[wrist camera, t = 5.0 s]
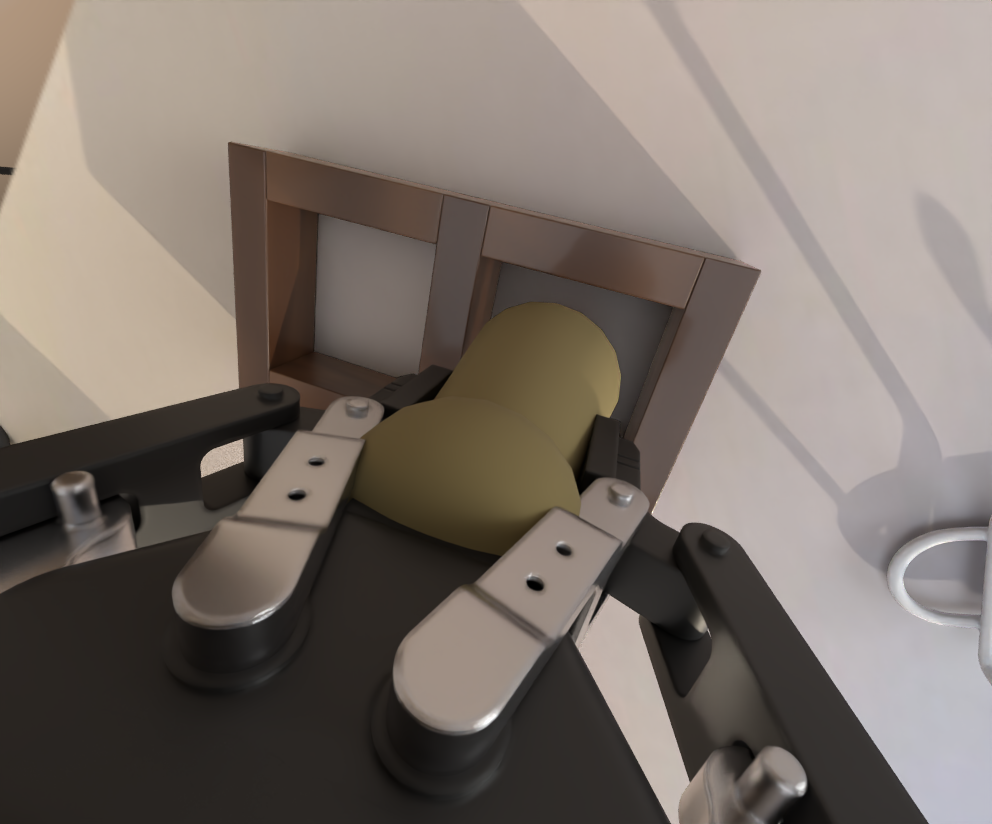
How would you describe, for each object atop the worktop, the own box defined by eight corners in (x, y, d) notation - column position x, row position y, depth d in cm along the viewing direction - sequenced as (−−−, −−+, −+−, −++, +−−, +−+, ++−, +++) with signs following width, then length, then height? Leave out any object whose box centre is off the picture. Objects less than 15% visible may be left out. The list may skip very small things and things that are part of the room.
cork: (476, 286, 17) (261, 378, 7) (641, 321, 16) (650, 487, 6) (457, 429, 20) (279, 640, 10) (598, 468, 18) (555, 749, 9)
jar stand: (285, 371, 26) (238, 392, 23) (286, 151, 21) (226, 141, 18) (642, 491, 23) (643, 534, 20) (741, 261, 18) (762, 270, 15)
